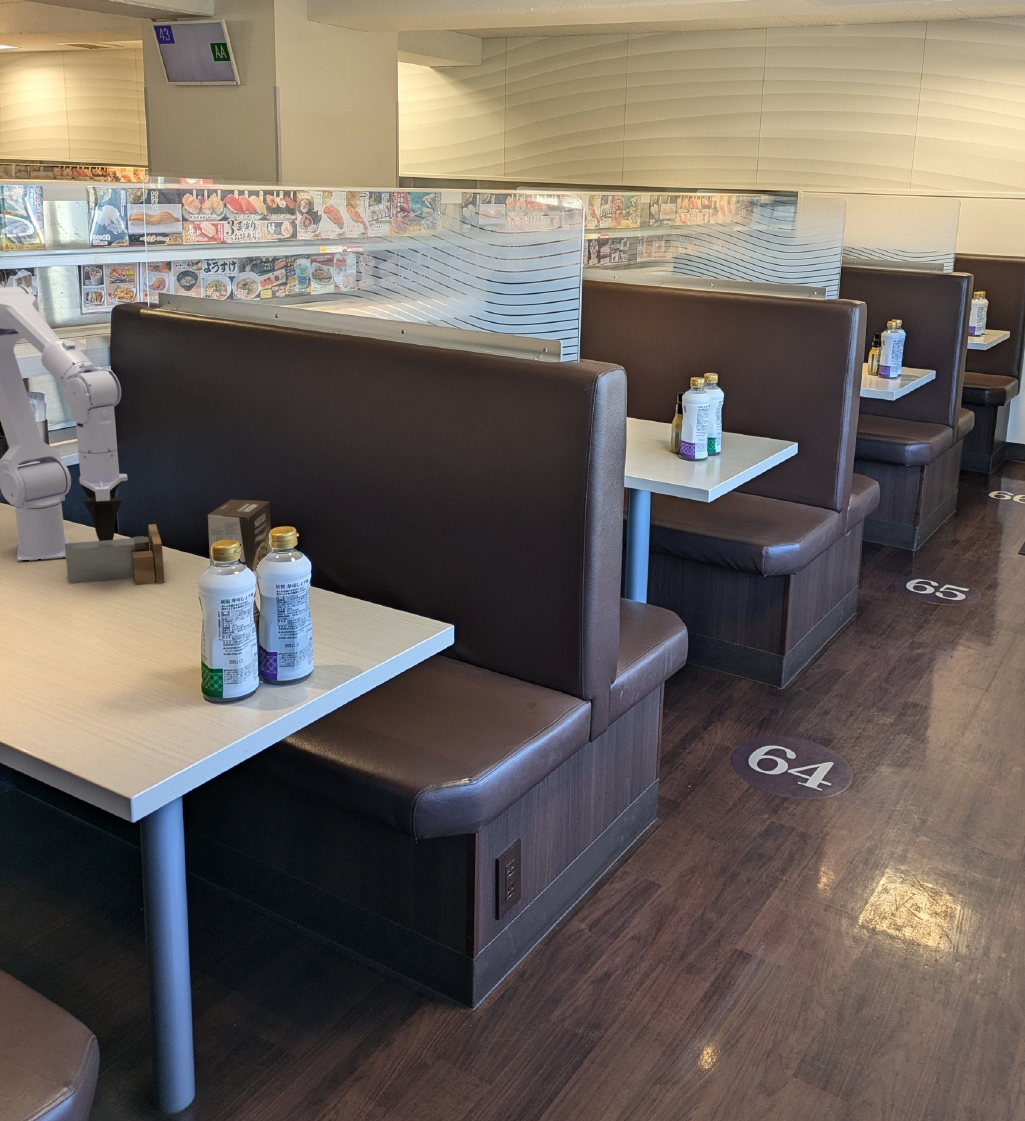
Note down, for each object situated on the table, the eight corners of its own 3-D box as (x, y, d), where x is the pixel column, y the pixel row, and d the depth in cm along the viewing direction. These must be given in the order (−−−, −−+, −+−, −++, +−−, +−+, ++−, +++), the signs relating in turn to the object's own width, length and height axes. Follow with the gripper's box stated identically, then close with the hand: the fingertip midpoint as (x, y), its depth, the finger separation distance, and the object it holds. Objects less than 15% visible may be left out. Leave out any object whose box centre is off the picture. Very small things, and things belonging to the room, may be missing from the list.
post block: (130, 563, 187) (127, 526, 185) (158, 561, 188) (155, 524, 186) (135, 585, 177) (132, 546, 175) (164, 582, 179) (161, 543, 176)
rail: (68, 576, 180) (64, 542, 178) (146, 569, 184) (143, 536, 182) (68, 583, 177) (64, 548, 175) (148, 576, 181) (145, 542, 179)
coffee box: (253, 623, 164) (248, 517, 159) (211, 619, 165) (205, 514, 160) (275, 601, 172) (271, 500, 167) (235, 597, 173) (230, 497, 168)
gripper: (128, 458, 169) (134, 544, 173) (122, 437, 181) (128, 517, 186) (78, 461, 166) (85, 548, 171) (75, 439, 179) (82, 520, 183)
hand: (104, 532), depth 178 cm, fingers open, 7 cm apart
